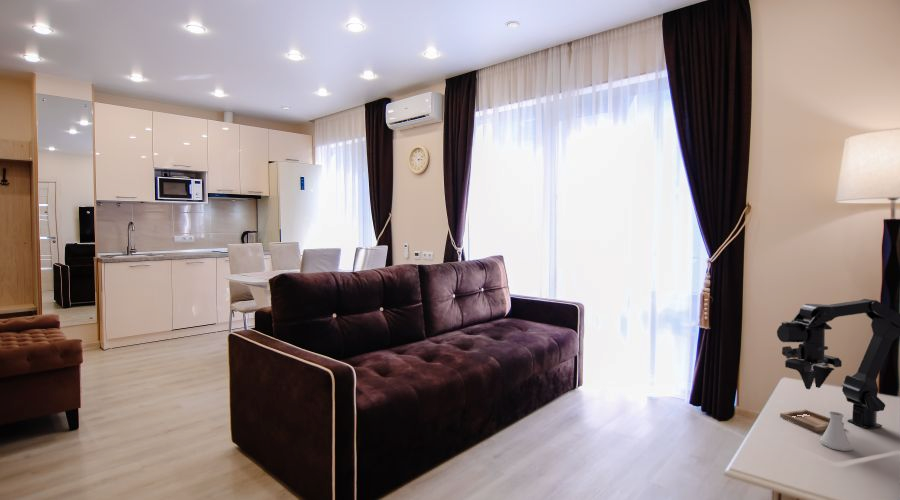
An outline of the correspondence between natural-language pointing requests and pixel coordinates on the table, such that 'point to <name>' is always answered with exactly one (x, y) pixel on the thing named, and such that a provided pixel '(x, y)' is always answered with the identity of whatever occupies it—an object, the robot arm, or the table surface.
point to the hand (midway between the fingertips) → (812, 388)
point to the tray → (808, 420)
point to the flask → (836, 434)
